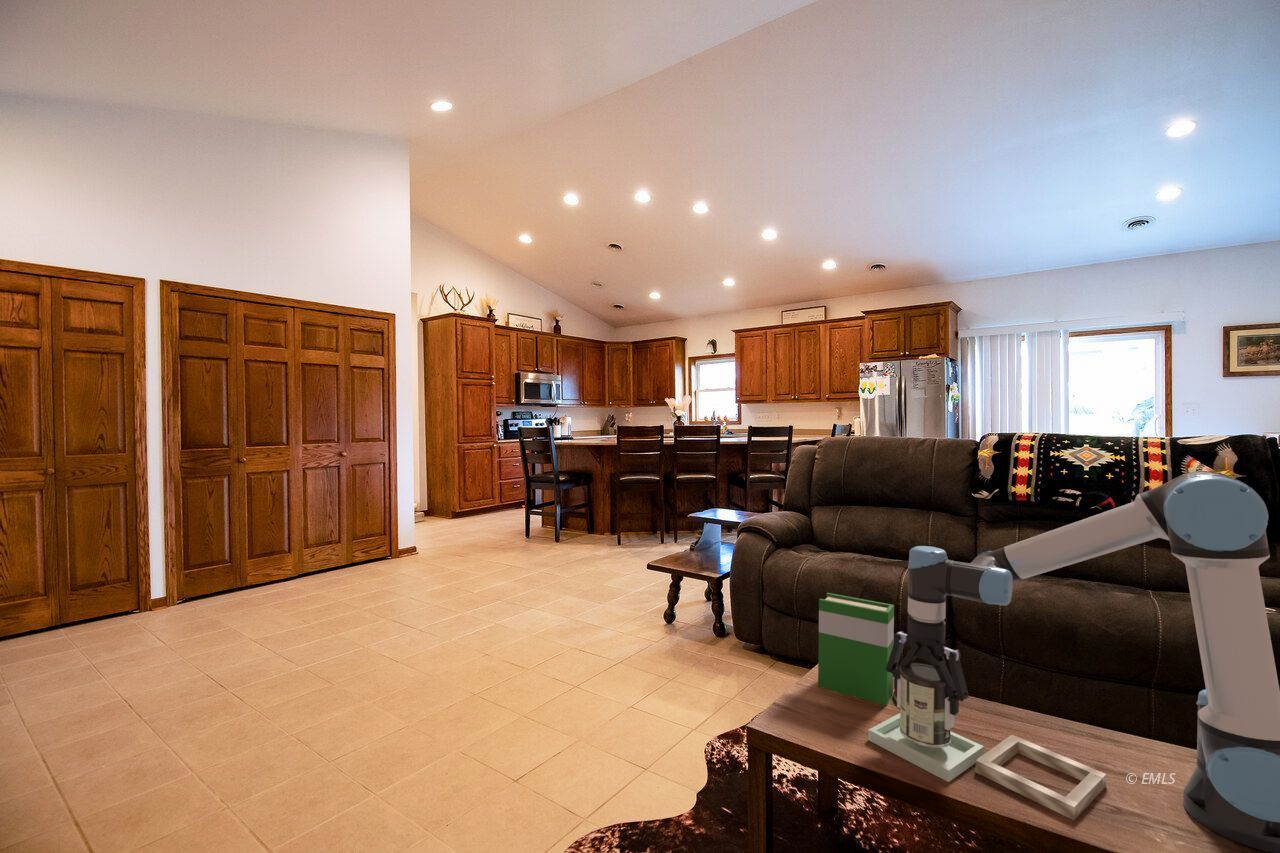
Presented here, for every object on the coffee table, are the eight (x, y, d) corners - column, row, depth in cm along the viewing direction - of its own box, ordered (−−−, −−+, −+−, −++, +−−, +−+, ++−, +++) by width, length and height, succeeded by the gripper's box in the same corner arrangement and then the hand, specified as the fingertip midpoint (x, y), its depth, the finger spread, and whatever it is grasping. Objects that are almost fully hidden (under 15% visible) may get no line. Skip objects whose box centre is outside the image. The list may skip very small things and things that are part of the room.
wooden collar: (1106, 786, 112) (1106, 774, 112) (1074, 820, 103) (1074, 807, 103) (1011, 745, 126) (1011, 734, 126) (975, 772, 117) (975, 760, 117)
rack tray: (983, 757, 122) (983, 746, 122) (948, 782, 113) (948, 770, 113) (904, 720, 137) (904, 710, 137) (868, 740, 128) (868, 729, 128)
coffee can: (941, 725, 129) (942, 664, 129) (957, 751, 119) (959, 685, 119) (894, 720, 131) (894, 660, 131) (905, 745, 121) (906, 680, 121)
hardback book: (818, 686, 154) (819, 599, 154) (826, 676, 160) (827, 592, 160) (886, 705, 144) (888, 612, 143) (892, 694, 150) (894, 605, 149)
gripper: (989, 629, 117) (987, 734, 118) (888, 600, 136) (887, 691, 136) (971, 637, 113) (970, 746, 113) (870, 606, 132) (869, 699, 132)
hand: (924, 716), depth 125 cm, fingers closed on coffee can, 10 cm apart
